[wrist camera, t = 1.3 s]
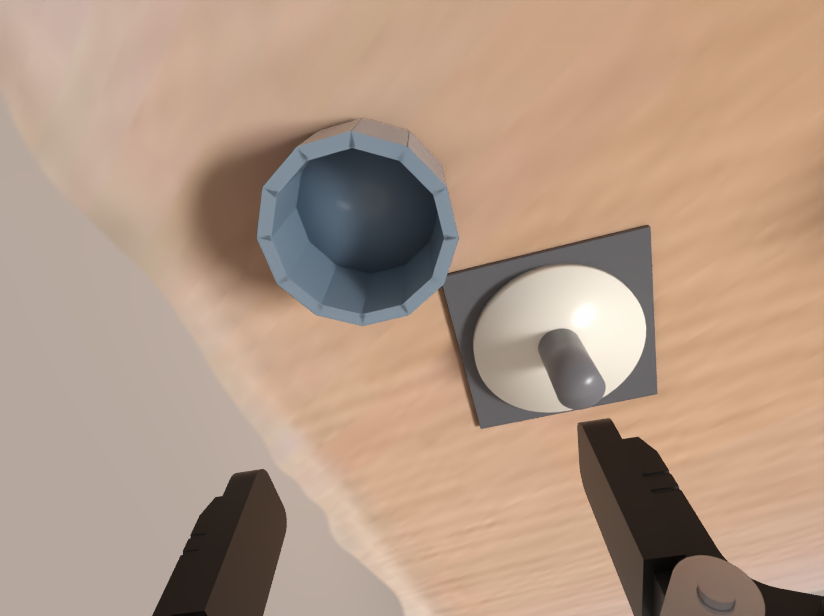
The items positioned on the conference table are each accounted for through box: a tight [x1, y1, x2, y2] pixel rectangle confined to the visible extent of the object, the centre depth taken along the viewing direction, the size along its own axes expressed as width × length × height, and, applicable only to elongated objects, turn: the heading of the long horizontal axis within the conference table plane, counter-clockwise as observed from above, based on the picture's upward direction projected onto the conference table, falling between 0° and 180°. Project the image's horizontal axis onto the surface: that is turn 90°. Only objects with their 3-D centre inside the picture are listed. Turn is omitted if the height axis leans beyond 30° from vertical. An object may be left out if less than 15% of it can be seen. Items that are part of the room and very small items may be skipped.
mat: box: [443, 225, 657, 429], centre depth 37 cm, size 15×15×1 cm
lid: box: [473, 263, 646, 413], centre depth 34 cm, size 13×13×6 cm
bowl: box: [257, 118, 459, 326], centre depth 30 cm, size 11×11×7 cm
